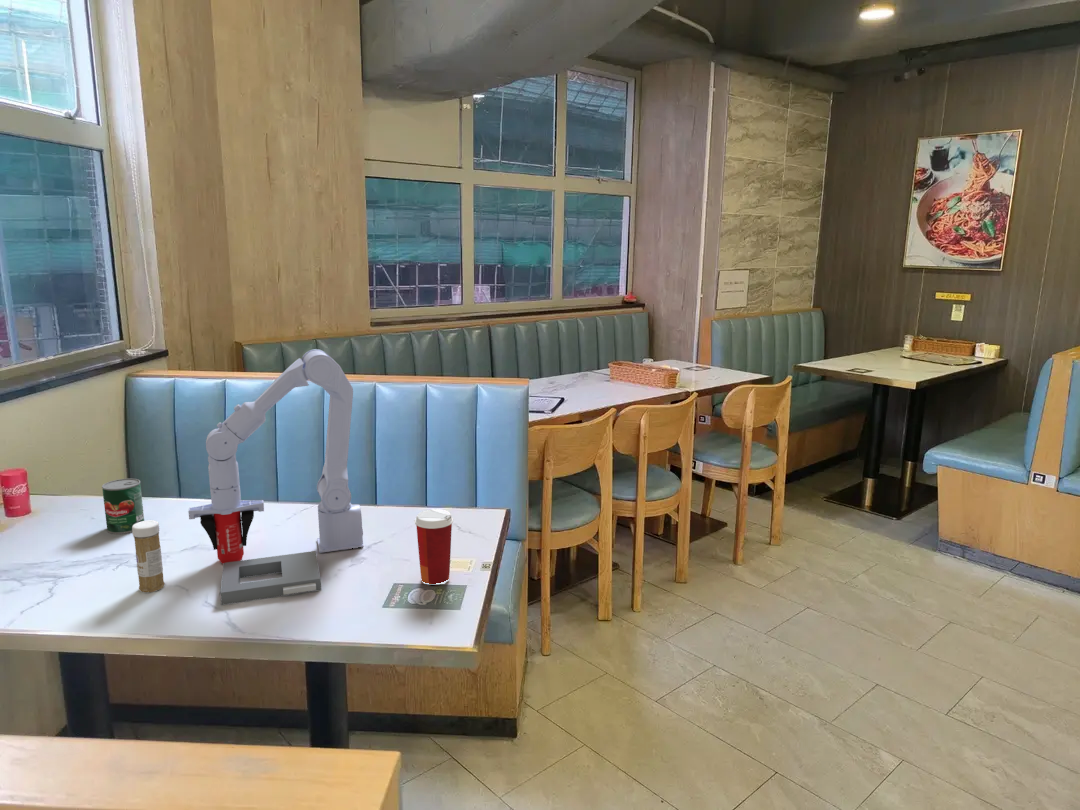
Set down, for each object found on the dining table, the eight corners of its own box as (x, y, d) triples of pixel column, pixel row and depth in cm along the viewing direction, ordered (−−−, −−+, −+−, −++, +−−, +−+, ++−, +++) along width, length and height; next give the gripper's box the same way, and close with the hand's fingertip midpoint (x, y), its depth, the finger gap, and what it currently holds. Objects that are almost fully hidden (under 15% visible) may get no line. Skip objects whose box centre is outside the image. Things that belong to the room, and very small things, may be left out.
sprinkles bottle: (135, 588, 142) (127, 524, 139) (159, 580, 145) (152, 517, 142) (145, 595, 139) (137, 530, 136) (169, 587, 142) (162, 523, 139)
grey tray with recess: (316, 561, 154) (315, 550, 154) (321, 592, 141) (321, 581, 140) (224, 574, 148) (223, 562, 148) (221, 608, 134) (220, 595, 134)
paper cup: (460, 575, 149) (459, 510, 146) (443, 591, 142) (442, 524, 139) (426, 569, 151) (425, 506, 149) (408, 584, 144) (406, 518, 141)
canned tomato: (106, 536, 167) (101, 491, 165) (107, 525, 174) (101, 481, 171) (145, 530, 171) (140, 485, 168) (144, 519, 177) (139, 476, 175)
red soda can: (234, 566, 152) (230, 512, 149) (212, 563, 153) (207, 510, 150) (249, 556, 157) (245, 503, 154) (227, 554, 158) (223, 502, 155)
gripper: (184, 495, 145) (191, 558, 148) (261, 487, 150) (266, 548, 153) (188, 484, 152) (194, 545, 155) (261, 477, 157) (266, 536, 160)
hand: (230, 546), depth 154 cm, fingers open, 5 cm apart
